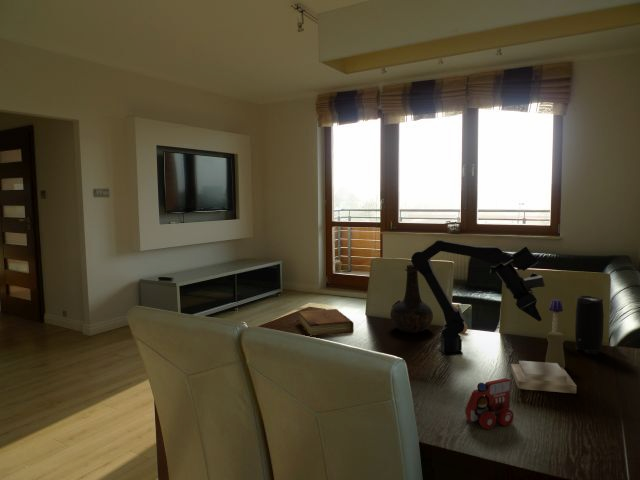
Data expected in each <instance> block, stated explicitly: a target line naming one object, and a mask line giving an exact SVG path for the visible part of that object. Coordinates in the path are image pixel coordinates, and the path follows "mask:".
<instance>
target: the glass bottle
mask: <svg viewBox="0 0 640 480" xmlns="http://www.w3.org/2000/svg"><path fill="white" fill-rule="evenodd" d="M404 271H406V285H405V293H404V297H403V300H397V301H396V302H395V303H393V305H392V306H391V310H390V313H389V316H390V320H391V322H392V324H393V325H394V326H395V328H397V329H398V330H399V331H401V332H404V333H410V334H411V333H412V334H414V333H415V334H417V333H421V332H424V331H425V330H427V329H428V328H429V327H430V326H431V324H432V323H433V318H434V313H433V310H432V308H431V306H429V305H428V304H427V303H425V302H424V301H423V300H422V298H421V295H420V294H421V293H420V289H419V288H420V287H419V279H418V277H419V275H418V272H419V271H418V270H417V269H416V268H415V267H414V265H413V264H407V265H406V268H404Z"/></svg>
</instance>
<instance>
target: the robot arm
mask: <svg viewBox="0 0 640 480" xmlns="http://www.w3.org/2000/svg"><path fill="white" fill-rule="evenodd" d="M441 252H444V253H449V254H455V255H461V256H465V257H471V258H476V259H478V260H480V261H483V262H485V263H488V264H491V266H490V271H489V275H492V276H493V275H494V274H497V276H498V277H499V278H500V280H501V281H502V282H503V284H504V285H505V287H506V289H507V290H508V291H509V293H510V294H511V295H512V297H513V299H514V300H515V305H516V308H517V309H519V310H520V311H522V312H524V313H525V314H526V315H529V316H530V317H531V318H533V319H534V320H536V321H538V322H541V321H542V317H541V315H540V313H539V311H538V309H537V302H538V299H537V297H536V296H535V294H534V291H533V289H536V288H543V287H545V286H546V283H545V281H544V277H543V275H540V274H539V275H537V274H536V273H535V272H532V273H530V275H529V276H528V277H526V278H523V276H522V275H520V274H519V273H518V271H523V272H525V271H526V270H528V269H530V268H532V267H533V266H535V265H537V264H538V263H539V261H538V260H537V258H536V257H535V255H534V254H533V253H532V252H531V251H530V250H529V249H528V247H527V245H524V246H523V247H521V249H519V250H517V251H516V252H514V253H513V254H512V253H510V252H505V251H503V250H502V249H501V248H500V247H499V246H497V245H479V246H478V245H477V246H476V245H470V244H465V243H460V242H459V243H458V242H453V241H447V240H443V239H438V240H436V241H435V242H434V243H433V244H431V245H430V246H428V247H427V248H425V249H424V250H422V249H419V250H418V251H415V252H414V253H413V254H412V256H411V260H410V262H411V265H414V267H415V268H416V269H417V270H418V271H417V272H419V273H420V274H421V276H423V278H424V279H425V281H426V283H427V285H428V287H429V289H430V290H431V292H432V294H433V295H434V298H435V299H436V301H437V303H438V305H439V306H440V308H441V311H442V313H443V318H444V321H445V324H444V325H443V327H442V329H441V332H440V333H441V334H440V347H438V350H439V351H440V352H441V353H443V354H444V355H445V356H448V355H450V356H451V355H462V354H463V351H462V350H463V347H462V345H463V343H462V341H463V340H462V338H461V335H460V334H462V333H461V332H462V331H463V330H464V327H465V324H466V315H464V313H463V312H462V309H461V307H459V308H458V309H456V308H455V307H454V306H455V305H453V303H452V301H451V300H450V298H449V296H448V294H447V292H446V291H445V289H444V287H443V286H442V283H441V282H440V280H439V278H438V277H437V274H436V272H435V271H434V266H433V263H432V258H433V257H434V256H436V255H437V254H439V253H441ZM503 262H506V263H503ZM493 265H495V266H493ZM514 266H515V267H514ZM516 268H517V270H518V271H517V270H516Z"/></svg>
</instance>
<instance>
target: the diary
mask: <svg viewBox="0 0 640 480" xmlns="http://www.w3.org/2000/svg"><path fill="white" fill-rule="evenodd" d="M298 314H299V317H300V321H298V323H299V324H300V326H301V325H302V326H303V327H304V328H303V327H302V326H301V327H302V328H303V329H304V330H308V331H309V332H310V334H311V335H314V334H316V335H321V336H329V335H328V334H333V335H341V334H342V335H344V334H353V333H354V327H355V326H354V322H353V320H351V319H350V318H349V317H347V316H346V315H345V314H343V313H342V312H341V311H340V310H338V308H330V309H320V310H319V309H318V310H306V311H303V310H302V311H298ZM343 333H344V334H343ZM313 337H316V336H315V335H314V336H313Z"/></svg>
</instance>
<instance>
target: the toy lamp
mask: <svg viewBox="0 0 640 480" xmlns="http://www.w3.org/2000/svg"><path fill="white" fill-rule="evenodd" d="M549 305H550V306H549V308H548V310H549V311H550V312H552V313H553V315H552V324H551V325H552V327H551V332H558V321H559V313H562V312H563V311H564V308H563V304H562V301H561V300H560V299H555V298H553V299H551V302H550V304H549ZM547 343H549V342H548V341H547Z"/></svg>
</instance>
